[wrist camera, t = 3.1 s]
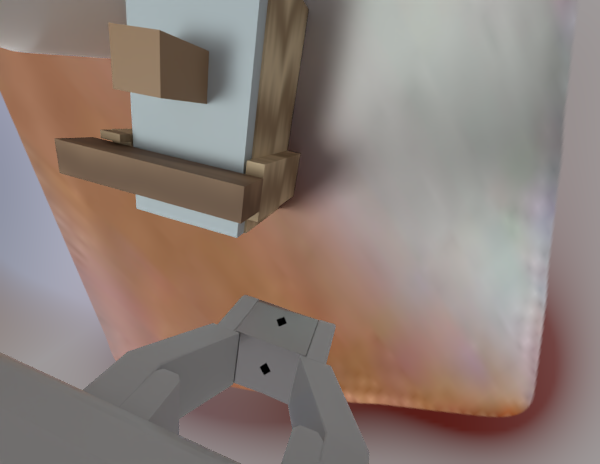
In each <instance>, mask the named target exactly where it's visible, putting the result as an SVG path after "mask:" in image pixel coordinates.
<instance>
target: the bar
mask: <svg viewBox="0 0 600 464" xmlns="http://www.w3.org/2000/svg"><path fill="white" fill-rule="evenodd" d="M55 145H56V151H57V158H58V164H59V171H60V173H62V174H65V175H69V176H72V177H76V178H79V179H83V180H87V181H90V182H94V183H97V184H101V185H104V186H108V187H112V188H115V189H119V190H122V191H126V192H129V193H133V194H136V195H140V196H144V197H147V198H151V199H154V200H158V201H161V202H165V203H168V204H172V205H176V206H179V207H183V208H186V209H190V210H193V211H197V212H201V213H204V214H208V215H211V216H215V217H218V218H222V219H225V220H229V221H233V222H236V223H240V224H241V223H243V222H244V221H246V220H247V219H249V218H250V217H252V216H253V215H255V214H256V213H258V212H259V210H260V202H261V194H262V186H263V178H259V177H254V176H250V175H246V174H242V173H238V172H234V171H230V170H226V169H222V168H218V167H213V166H209V165H205V164H201V163H197V162H193V161H189V160H185V159H181V158H176V157H172V156H168V155H164V154H160V153H156V152H152V151H148V150H144V149H139V148H135V147H131V146H127V145H123V144H119V143H115V142H111V141H107V140H102V139H98V138H94V137H87V138H58V139H55Z"/></svg>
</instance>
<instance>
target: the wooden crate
mask: <svg viewBox="0 0 600 464" xmlns="http://www.w3.org/2000/svg"><path fill="white" fill-rule="evenodd" d="M308 11H309V9H308V7H307V6H306V4H305V3H304V1H303V0H268V5H267V15H266V24H265V34H264V43H263V53H262V62H261V72H260V81H259V91H258V101H257V110H256V120H255V129H254V139H253V148H252V158H251V160H247V164H246V175H250V176H254V177H259V178H263V186H262V194H261V202H260V210H259V212H258V213H256V214H255V215H253V216H252V217H250V218H249V219H247V220H246V221H245V225H244V233H247V232H248V231H250V230H251V229H252V228H254V227H255V226H256V225H258V224H259V223H260V222H262V221H263V220H264V219H266V218H267V217H268V216H269V215H271V214H272V213H273V212H275V211H276V210H277V209H279V206H280V205H282V204H283V203H284V202H286V201H287V200H288V199H290V198H291V197H293V195H294V189H295V183H296V177H297V171H298V165H299V159H300V154H299V153H295V152H290V151H287V149H288V143H289V136H290V130H291V123H292V116H293V110H294V103H295V97H296V90H297V83H298V77H299V70H300V64H301V57H302V50H303V44H304V37H305V31H306V24H307V17H308ZM100 132H101V138H103V139H108V140H112V141H113V142H115V143H119V144H123V145H127V146H131V147H133V132H132V129H112V130H100Z"/></svg>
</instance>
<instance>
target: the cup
mask: <svg viewBox="0 0 600 464" xmlns="http://www.w3.org/2000/svg"><path fill="white" fill-rule="evenodd" d="M108 22H109V23H115V24H122V25H127V18H126V0H0V47H1V48H4V49H8V50H11V51H17V52H25V53H38V54H52V55H67V56H81V57H95V58H110V59H111V54H110V40H109V27H108Z"/></svg>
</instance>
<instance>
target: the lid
mask: <svg viewBox="0 0 600 464" xmlns="http://www.w3.org/2000/svg"><path fill="white" fill-rule="evenodd" d="M267 5H268V0H126V18H127V25H122V24H115V23H109V22H108V27H109V40H110V54H111V68H112V81H113V89H117V90H122V91H127V92H130V94H131V113H132V132H133V147H135V148H139V149H144V150H148V151H152V152H156V153H160V154H164V155H168V156H172V157H176V158H181V159H185V160H189V161H193V162H197V163H201V164H205V165H209V166H213V167H218V168H222V169H226V170H230V171H234V172H238V173H242V174H246V164H247V160H251V158H252V148H253V139H254V129H255V120H256V110H257V101H258V91H259V81H260V72H261V62H262V53H263V43H264V34H265V24H266V15H267ZM136 208H137V209H140V210H143V211H147V212H150V213H153V214H157V215H160V216H164V217H167V218H171V219H174V220H177V221H181V222H184V223H188V224H191V225H195V226H198V227H201V228H205V229H208V230H212V231H215V232H219V233H222V234H225V235H229V236H232V237H236V238H237V237H239V236H240V235H241V234H243V233H244V225H245V221H244V222H243V223H241V224H240V223H236V222H233V221H229V220H225V219H222V218H218V217H215V216H211V215H208V214H204V213H201V212H197V211H193V210H190V209H186V208H183V207H179V206H176V205H172V204H168V203H165V202H161V201H158V200H154V199H151V198H147V197H144V196H140V195H136Z"/></svg>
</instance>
